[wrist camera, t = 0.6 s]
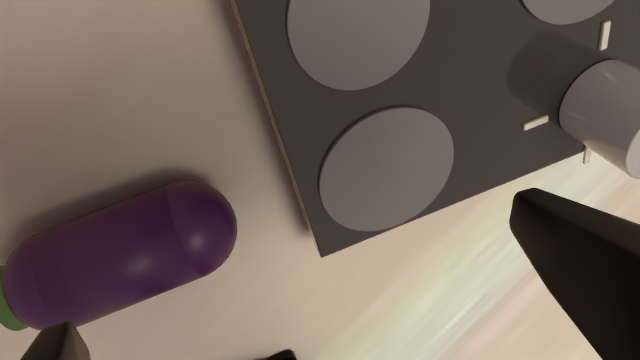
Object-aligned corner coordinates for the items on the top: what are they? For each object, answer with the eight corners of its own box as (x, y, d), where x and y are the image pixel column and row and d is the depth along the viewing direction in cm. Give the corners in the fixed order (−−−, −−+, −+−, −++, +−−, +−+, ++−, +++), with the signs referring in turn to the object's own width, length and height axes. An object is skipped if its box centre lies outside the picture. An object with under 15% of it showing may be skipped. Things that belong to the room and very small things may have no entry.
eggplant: (210, 149, 23) (224, 205, 20) (241, 217, 26) (258, 276, 23) (-44, 242, 22) (-78, 320, 18) (18, 303, 25) (-2, 381, 21)
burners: (619, 132, 28) (621, 134, 28) (335, 247, 26) (336, 250, 26) (681, -192, 19) (685, -192, 18) (245, -49, 17) (246, -48, 17)
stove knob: (623, 119, 27) (701, 163, 24) (555, 146, 27) (623, 196, 23) (637, 47, 25) (728, 84, 21) (562, 76, 24) (641, 119, 20)
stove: (615, 117, 31) (649, 137, 29) (311, 239, 29) (325, 270, 27) (674, -215, 21) (736, -221, 18) (207, -65, 18) (216, -53, 16)
